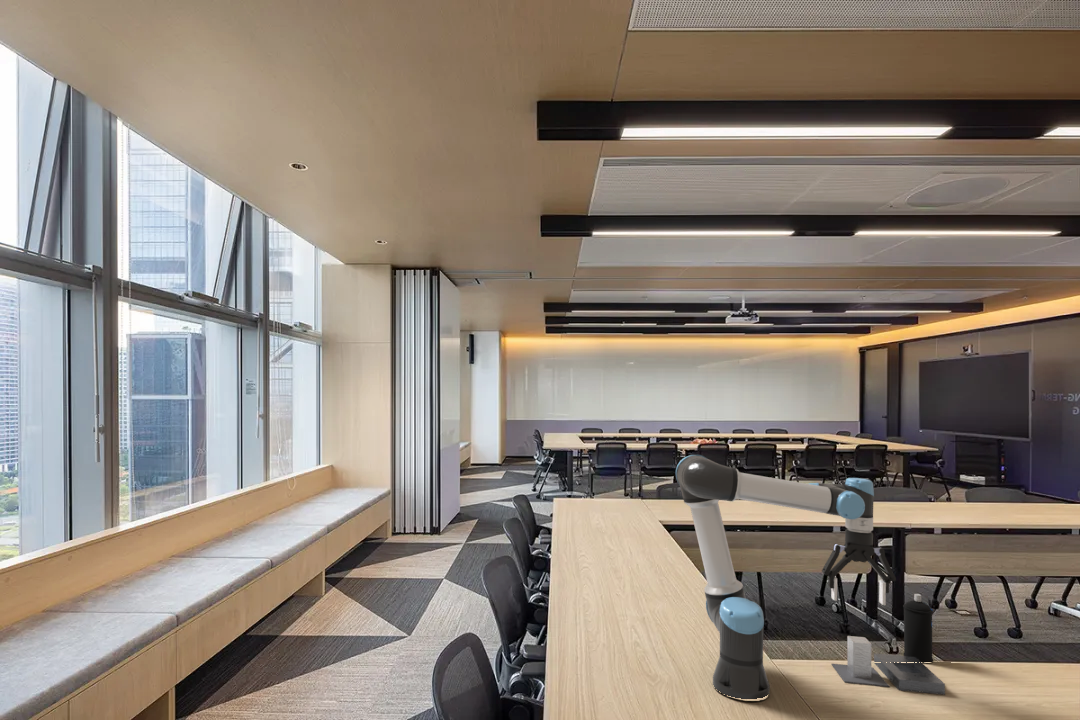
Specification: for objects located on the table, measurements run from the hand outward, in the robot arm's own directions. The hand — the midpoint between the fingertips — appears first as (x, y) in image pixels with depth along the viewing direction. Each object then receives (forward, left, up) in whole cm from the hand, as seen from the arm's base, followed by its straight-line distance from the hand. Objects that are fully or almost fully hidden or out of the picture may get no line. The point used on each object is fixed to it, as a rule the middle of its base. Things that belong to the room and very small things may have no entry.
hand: (858, 601), depth 181 cm
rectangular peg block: (0, 0, -21) cm, 21 cm away
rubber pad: (0, 0, -22) cm, 22 cm away
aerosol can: (+24, +18, -22) cm, 37 cm away
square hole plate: (+14, +2, -22) cm, 26 cm away
